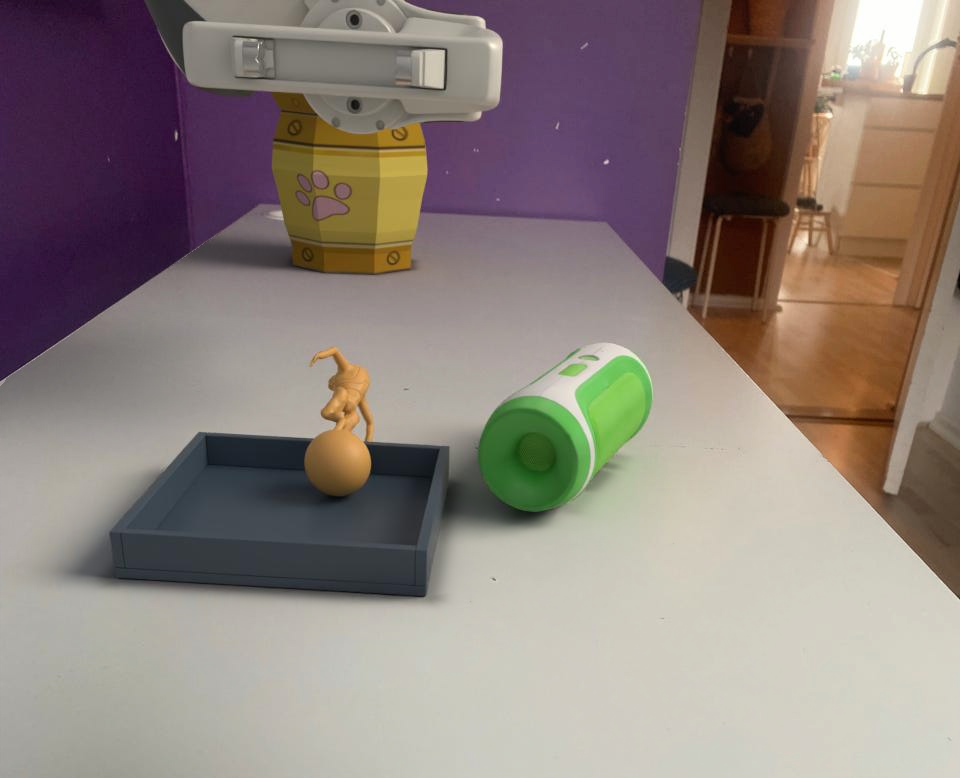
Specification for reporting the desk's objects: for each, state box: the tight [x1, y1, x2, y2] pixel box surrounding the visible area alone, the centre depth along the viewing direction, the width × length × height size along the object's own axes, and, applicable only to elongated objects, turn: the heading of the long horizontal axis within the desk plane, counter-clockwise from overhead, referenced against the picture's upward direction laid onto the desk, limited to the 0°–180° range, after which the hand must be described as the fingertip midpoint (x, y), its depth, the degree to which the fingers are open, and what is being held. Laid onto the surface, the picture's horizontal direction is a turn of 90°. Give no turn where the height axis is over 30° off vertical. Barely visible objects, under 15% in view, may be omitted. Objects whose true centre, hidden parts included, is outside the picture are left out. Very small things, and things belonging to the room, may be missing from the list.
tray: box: [108, 431, 451, 597], centre depth 60 cm, size 16×16×3 cm
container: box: [270, 92, 428, 275], centre depth 130 cm, size 21×21×25 cm
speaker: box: [477, 342, 654, 513], centre depth 68 cm, size 18×7×8 cm, turn 157°
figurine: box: [304, 346, 375, 496], centre depth 65 cm, size 8×6×12 cm
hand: (326, 63), depth 60 cm, fingers open, 8 cm apart
